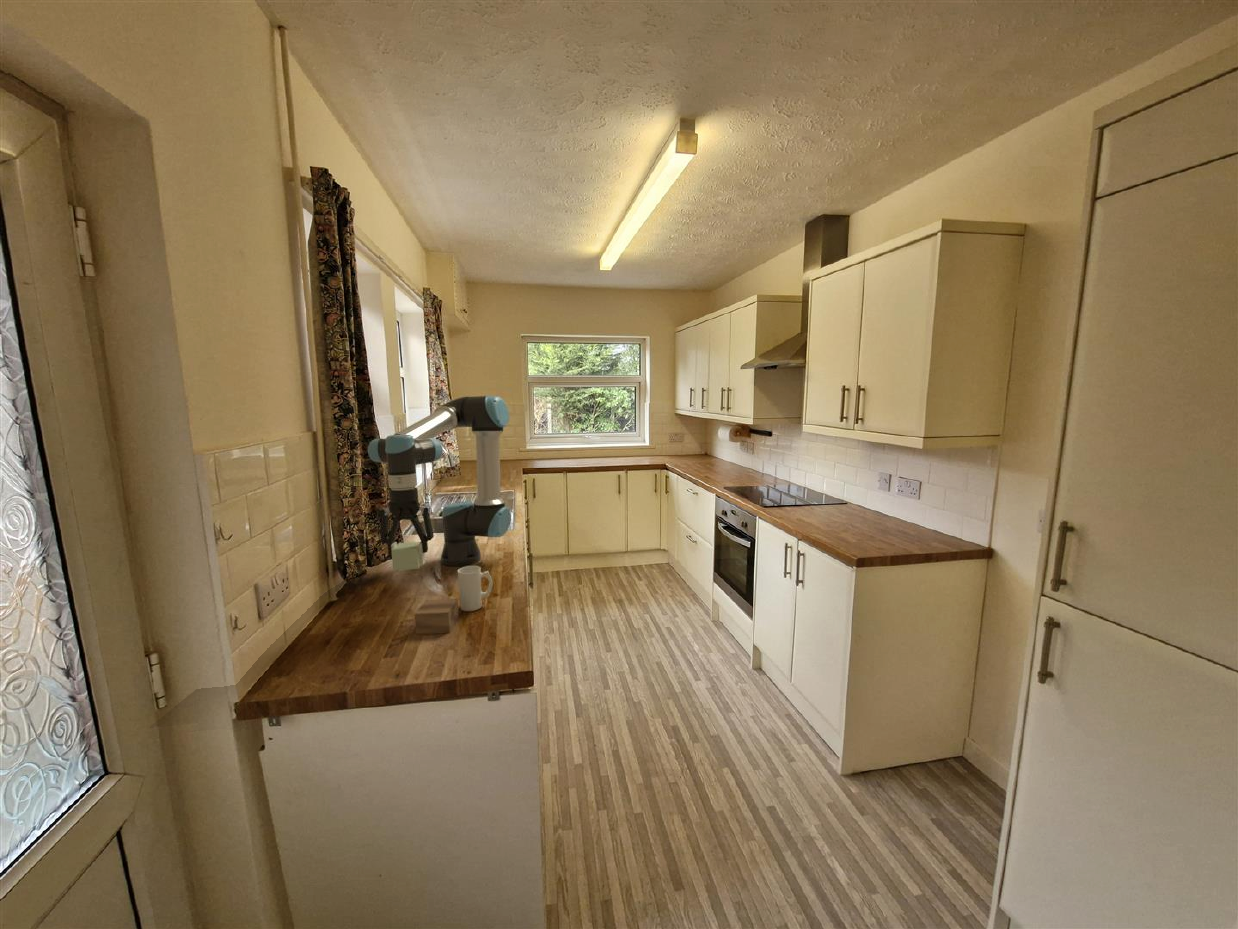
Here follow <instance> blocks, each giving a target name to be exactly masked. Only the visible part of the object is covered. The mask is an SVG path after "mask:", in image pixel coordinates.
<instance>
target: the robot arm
mask: <svg viewBox="0 0 1238 929" xmlns="http://www.w3.org/2000/svg"><path fill="white" fill-rule="evenodd" d="M509 421H510V411H509V407H508V406H507V403H506V401H505V400H504V399H503V398H501V397H500V396H497V395H496V396H495V395H493V396H492V395H484V396H483V395H482V396H461V397H458V398H455V399H453V400H450V401H449V402H446V403H443V404H442V405H440V406H438V407H437V408H436V409H435V410H434V412H432V413H431V414H429V415H428V416H426V417H424V418H422V419H420V420H418V421H417V422H415V423H412V424H411V425H409V426H407V427H405V428H403V429H402V430H399V431H398V432H395V433H393V434H391V435H388V436H387V437H385V438H375V439H373V440H371V441H370V442H369V444H368V445H367V454H368V457H369V459H370V460H371V461H373V462H375V463H382V464H386V467H387V481H388V488H390V489H389V491H388V493H389V503H390V505H389V507H383V508H381V509H380V510H379V516H380V536H379V537H380V538H379V540H380V543H381V544H382V543H383V544H386V545H387V549H388V550H387V553H388V555H389V556H390V555H391V556H392V549H393V548H394V547H395V546H397V545H398V542H397V541H396V540H395V539H396V536H397V533H398V529H399V527H400V523H401V521H404V520H407V521H409V520H410V522H411V524H412V525H413V527H414V528H413V529H415V532H416V533H417V536H418V537H419V540H420V541H419V542H420V543H419V553H420V565H421V566H422V565H424V564H425V563H426V553H428V551H429V546H428V544H429V542H428V541H431V540H433V539H434V536H435V535H434V531H433V526H432V520H431V516H430V512H431V511H430V510H431V507H430V505H427V506H423V505H421V504H420V502H419V490H418V488H417V486H418V479H417V478H418V476H417V466H418V465H423V464H428V463H429V464H431V463H434V462H437V461H439V460H440V459H442V458H441V457H442V456H443V453H444V452H443V451H444V450H443V445H442V443H441V442H440V441H439V439H437V438H436V437H437V436H439V435H441V434H442V433H444V432H446V431H448V432H449V431H453V430H454V429H456V428H471V432H472V433H473V434H474V435H475V442H476V443H475V444H476V445H475V447H476V480H477V482H476V486H477V488H476V489H477V492H476V493H477V498H476V500H475V501H474V502H473V501H471V500H469V501H468V500H466V501H458V502H454V503H450V504H448V505H447V504H446V505H444V507H443V508H442V516H441V518H442V525H443V526H442V527H443V539H444V540H443V541H444V544H443V548H442V552H441V554H440V563H441V564H442V565H443V566H449V567H459V566H460V567H461V566H469V565H470V564H471V565H472V564H475V563H476V562H478V561H480V560H481V558H482V556H481V554H482V553H481V550H480V548H479V545H478V542H477V540H476V537H485V538H490V539H491V538H501V537H503V536H504V535H506V533H507V532H508V529H509V528H510V525H511V523H512V522H511V520H512V513H511V510H510V508H508V507H507V506H505V505H506V504H505V503H506V502H505V500H504V499H503V498H501V494H502V493H501V457H500V454H501V453H500V448H501V447H500V445H501V444H500V436H501V435H502V434H503V433H504V427H506V426H508V424H509ZM419 511H420V513H421V514H422V519H423V523H424V528H423V526H422V523H421V522H420V519H419V516H418V512H419ZM390 512H391V514H392V515H393V520H392V525H391V528H390V530H389V515H390Z"/></svg>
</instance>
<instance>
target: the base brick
mask: <svg viewBox="0 0 1238 929" xmlns="http://www.w3.org/2000/svg"><path fill="white" fill-rule="evenodd" d="M459 616H460V615H459V601H458V598H445V599H444V598H443V599H440V598H439V599H426V600H424V602H423V603H422V604H421V605H420V607H419V608H418V609H417V610H416V611H415V613H414V624H415V634H416V635H423V634H424V635H427V634H445V633H446V634H447V633H448V634H449V633H451V632H452V629H453V628H454V627H455V624H456V623H457V622H458V620H459V618H460V617H459Z"/></svg>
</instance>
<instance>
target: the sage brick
mask: <svg viewBox="0 0 1238 929" xmlns="http://www.w3.org/2000/svg"><path fill="white" fill-rule="evenodd" d="M420 542H421V541H414V542H399V543H397V546H395V547H394V548H393V549H392V555H391V563H392V570H393V571H400V570H401V571H403V570H416V569H417V570H418V569H420V567H421V566H422V565H420V553H419V543H420Z"/></svg>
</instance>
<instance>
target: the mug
mask: <svg viewBox="0 0 1238 929" xmlns="http://www.w3.org/2000/svg"><path fill="white" fill-rule="evenodd" d="M481 569H482V567H481V566H478V565H465V566H463V567H461V568H459V569H458V570H457V580H458V581H457V582H458V590H459V591H458V592H459V604H460V610H462V611H464V612H474V611H477V610H479V609H481V608H482V607H483V599H484V598H488V597H489V596H490V594H491V592H492V589H493V584H494V583H493V577H491V575H490V572H489V571H488V570H486V571H484V572H482V571H481ZM483 577H484V578H486V579H487V580H488V588H487V589H486V591H485V592H484V591H482V578H483Z"/></svg>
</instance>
